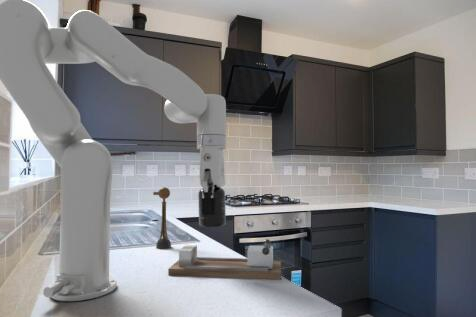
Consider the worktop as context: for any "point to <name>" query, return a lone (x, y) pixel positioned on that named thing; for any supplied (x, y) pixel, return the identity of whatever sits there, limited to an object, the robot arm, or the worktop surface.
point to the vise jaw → (260, 256)
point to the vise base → (219, 266)
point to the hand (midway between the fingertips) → (211, 212)
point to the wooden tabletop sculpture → (163, 220)
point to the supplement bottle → (220, 215)
